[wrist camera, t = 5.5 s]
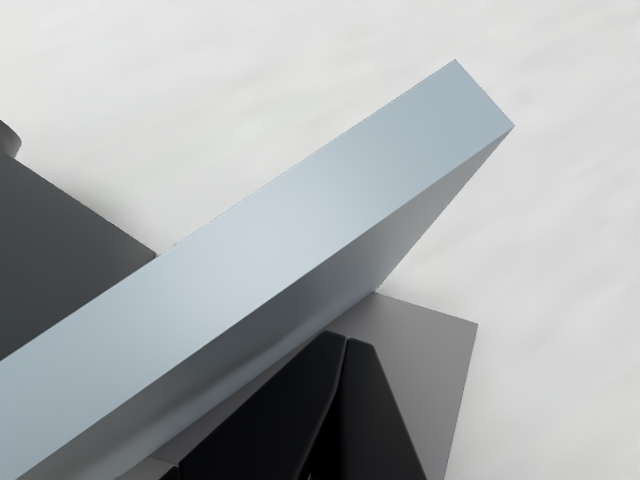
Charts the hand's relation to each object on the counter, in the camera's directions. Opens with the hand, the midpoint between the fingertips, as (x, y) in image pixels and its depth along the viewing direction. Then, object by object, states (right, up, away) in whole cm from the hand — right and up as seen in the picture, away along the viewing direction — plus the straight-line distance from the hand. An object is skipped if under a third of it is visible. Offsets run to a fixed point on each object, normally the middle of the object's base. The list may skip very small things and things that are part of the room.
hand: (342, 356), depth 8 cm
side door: (-3, -1, +5) cm, 6 cm away
